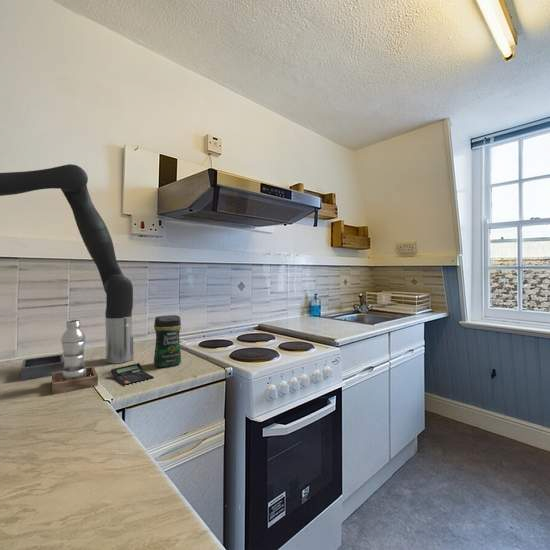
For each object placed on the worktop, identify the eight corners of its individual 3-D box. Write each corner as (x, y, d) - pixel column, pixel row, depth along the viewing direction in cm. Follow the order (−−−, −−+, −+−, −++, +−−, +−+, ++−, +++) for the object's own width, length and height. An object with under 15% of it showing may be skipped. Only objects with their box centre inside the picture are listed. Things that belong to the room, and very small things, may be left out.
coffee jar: (156, 369, 113) (156, 318, 113) (152, 363, 120) (151, 315, 119) (183, 365, 119) (183, 316, 118) (178, 359, 125) (177, 313, 125)
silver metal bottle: (75, 388, 96) (74, 323, 95) (56, 386, 97) (55, 322, 97) (91, 381, 102) (90, 319, 102) (73, 379, 104) (72, 318, 103)
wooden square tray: (93, 374, 108) (93, 366, 108) (97, 385, 99) (97, 376, 98) (52, 382, 101) (51, 372, 101) (52, 394, 92) (52, 384, 92)
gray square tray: (63, 364, 118) (62, 354, 118) (64, 373, 109) (64, 362, 109) (23, 370, 111) (23, 359, 111) (21, 380, 102) (21, 368, 102)
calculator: (124, 387, 98) (124, 377, 98) (110, 377, 106) (110, 369, 106) (153, 379, 105) (153, 370, 105) (138, 371, 113) (138, 362, 113)
